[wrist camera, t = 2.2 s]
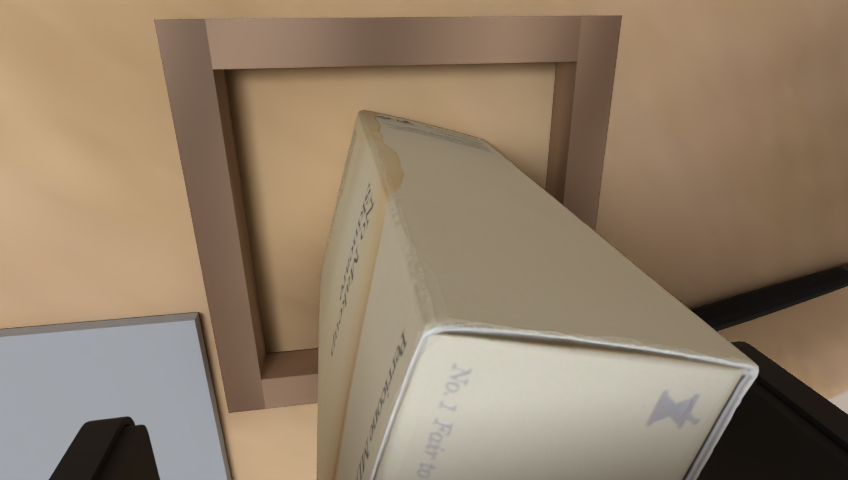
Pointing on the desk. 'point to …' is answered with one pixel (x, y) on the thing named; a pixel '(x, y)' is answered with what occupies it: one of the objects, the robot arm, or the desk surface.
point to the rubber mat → (109, 393)
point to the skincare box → (499, 330)
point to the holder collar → (337, 47)
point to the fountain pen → (771, 299)
